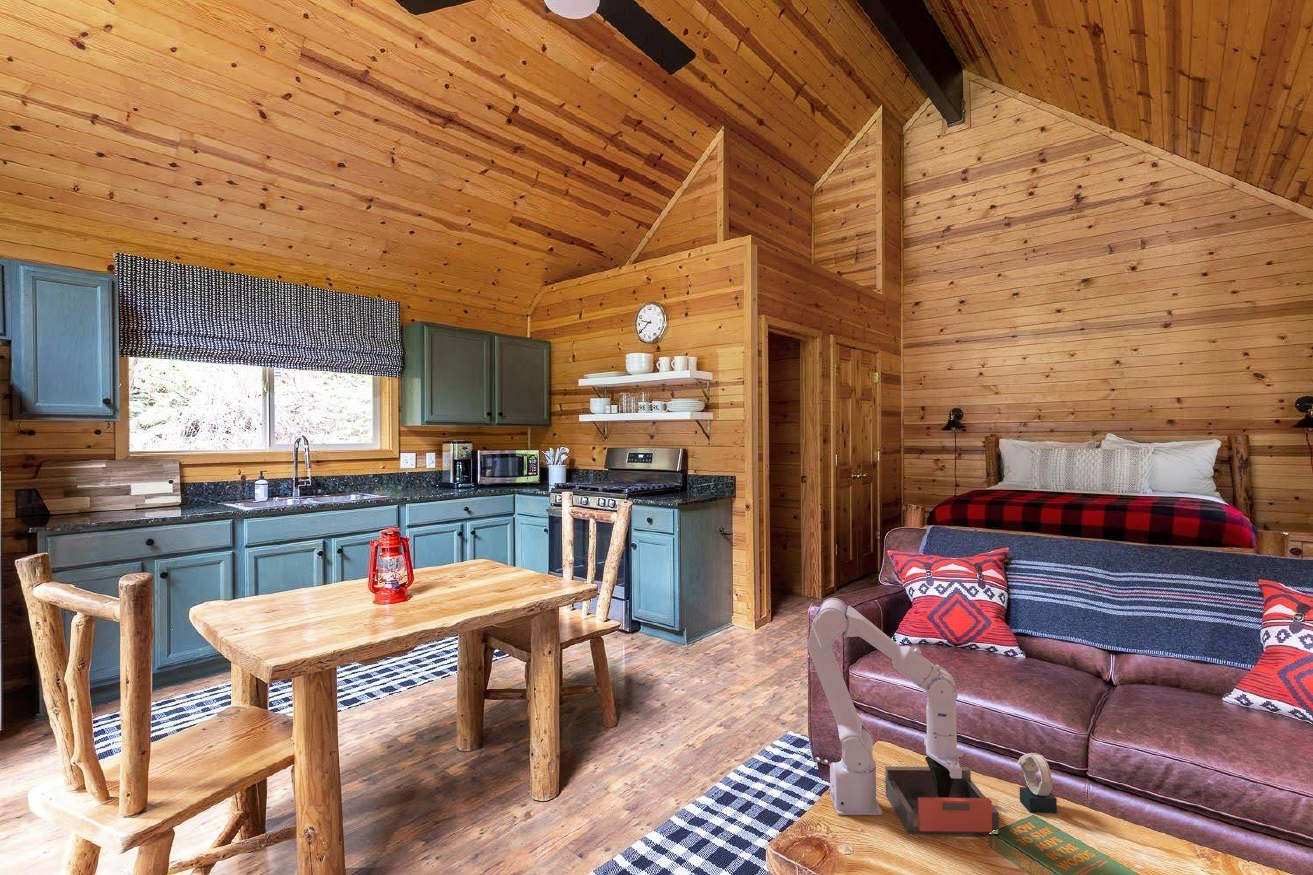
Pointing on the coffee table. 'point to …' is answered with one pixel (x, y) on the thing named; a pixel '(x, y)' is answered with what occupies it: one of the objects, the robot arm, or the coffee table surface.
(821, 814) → the coffee table surface
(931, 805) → the panel
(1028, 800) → the ring sculpture
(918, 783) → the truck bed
